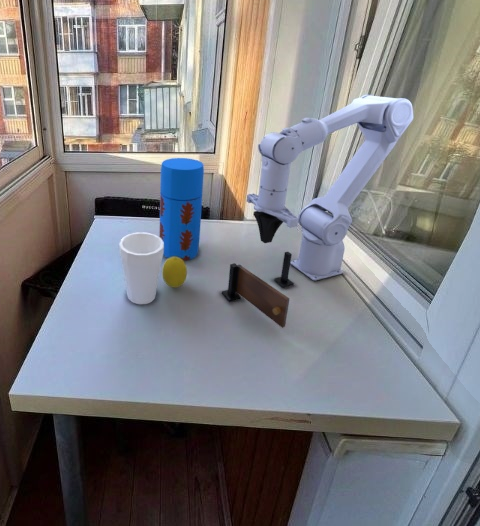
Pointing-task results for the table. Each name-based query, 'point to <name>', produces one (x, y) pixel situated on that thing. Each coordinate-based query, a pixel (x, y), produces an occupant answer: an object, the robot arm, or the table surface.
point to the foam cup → (141, 265)
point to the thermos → (181, 206)
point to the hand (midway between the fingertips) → (266, 241)
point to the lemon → (174, 272)
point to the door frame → (282, 280)
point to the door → (262, 296)
